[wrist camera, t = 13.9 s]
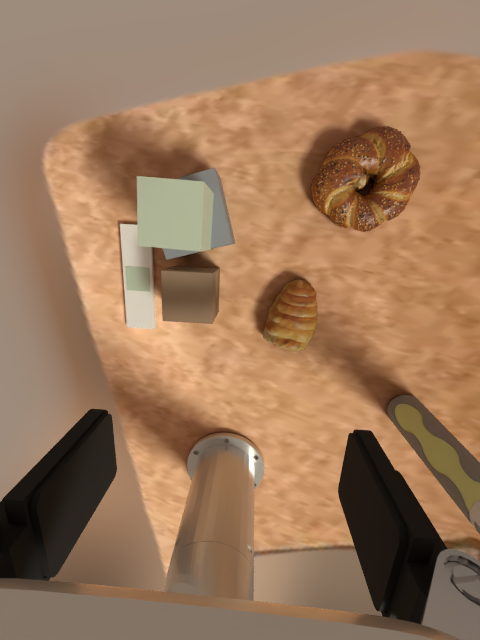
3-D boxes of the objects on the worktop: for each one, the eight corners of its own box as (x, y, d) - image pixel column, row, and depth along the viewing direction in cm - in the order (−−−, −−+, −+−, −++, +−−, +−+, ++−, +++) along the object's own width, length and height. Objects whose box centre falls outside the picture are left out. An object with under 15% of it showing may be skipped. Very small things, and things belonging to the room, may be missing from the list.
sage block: (210, 249, 32) (200, 251, 26) (158, 245, 32) (137, 245, 26) (213, 193, 30) (204, 181, 24) (159, 188, 30) (136, 175, 24)
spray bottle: (426, 406, 41) (576, 553, 22) (400, 427, 42) (521, 583, 23) (403, 386, 40) (538, 521, 21) (378, 408, 41) (483, 553, 22)
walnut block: (218, 311, 39) (212, 323, 33) (176, 308, 39) (162, 320, 33) (219, 268, 37) (213, 273, 31) (175, 265, 37) (160, 270, 32)
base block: (235, 243, 36) (232, 243, 31) (177, 257, 37) (166, 259, 32) (220, 177, 34) (214, 167, 29) (159, 194, 35) (144, 187, 30)
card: (155, 327, 40) (154, 329, 39) (128, 325, 40) (126, 327, 39) (152, 225, 36) (150, 225, 35) (121, 224, 36) (119, 223, 35)
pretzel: (311, 238, 35) (317, 237, 32) (306, 142, 33) (313, 130, 29) (408, 226, 34) (426, 224, 31) (413, 126, 32) (433, 111, 28)
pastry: (276, 273, 37) (279, 277, 33) (325, 284, 37) (333, 289, 33) (260, 337, 40) (261, 347, 36) (306, 347, 40) (311, 358, 36)
